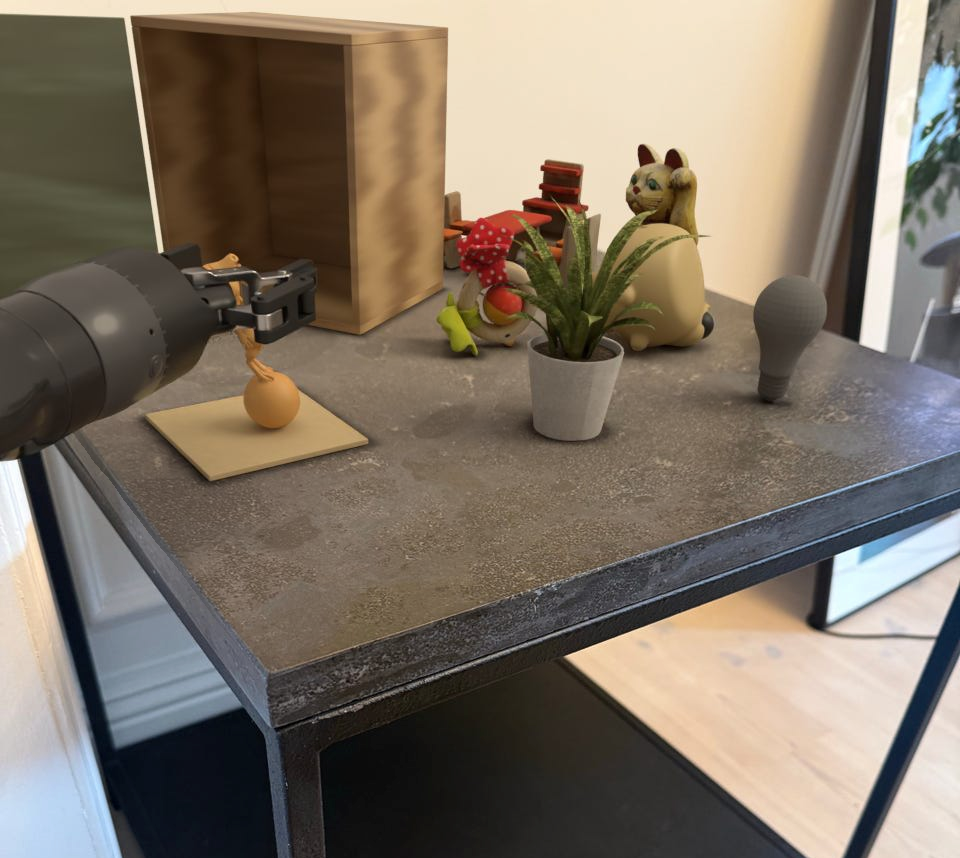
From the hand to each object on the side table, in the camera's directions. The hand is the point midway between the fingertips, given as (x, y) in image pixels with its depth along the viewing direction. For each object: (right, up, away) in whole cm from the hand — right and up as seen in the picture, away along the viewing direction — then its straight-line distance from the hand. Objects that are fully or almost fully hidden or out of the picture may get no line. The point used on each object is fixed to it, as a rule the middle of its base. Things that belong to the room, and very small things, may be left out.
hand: (252, 266), depth 64 cm
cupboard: (-2, +11, +34) cm, 36 cm away
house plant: (+23, -9, +9) cm, 27 cm away
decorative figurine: (+34, +11, +37) cm, 52 cm away
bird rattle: (+16, +2, +23) cm, 28 cm away
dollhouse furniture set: (+20, +19, +48) cm, 56 cm away
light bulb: (+40, -5, +15) cm, 43 cm away
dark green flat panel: (-27, +8, +28) cm, 40 cm away
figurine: (-1, -10, +5) cm, 11 cm away
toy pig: (+31, +3, +26) cm, 41 cm away
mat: (-1, -10, +5) cm, 11 cm away
